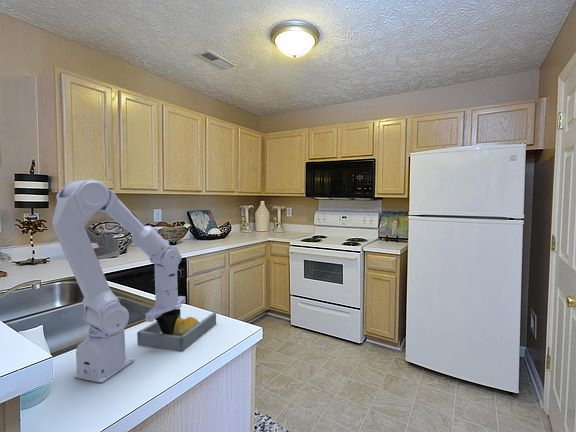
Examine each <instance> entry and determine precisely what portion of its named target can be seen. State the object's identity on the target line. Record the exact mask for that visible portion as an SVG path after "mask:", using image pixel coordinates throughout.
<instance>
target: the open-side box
mask: <svg viewBox="0 0 576 432" xmlns="http://www.w3.org/2000/svg"><path fill="white" fill-rule="evenodd" d="M178 318H181V312H180V314H179V316H178ZM215 325H217V313H216V312H211V314H209V315H208V316H207V317H205V318H203V320H201V321H199V323H198V324H197V325H196V326H194V327H193V328H192V329H190V330H189V331H188V332H186V333H185V334H183V335H182V336H175V335H168V334H162V332H161V329H160V326H159V324H158V323H157V321H156V320H155V321H153V322H151V323H150V324H149V325H147V326H146V327H144V328H142V329H140V330H139V331H137V333H136V336H137V338H136V339H137V346H144V347H151V348H157V349H163V350H164V349H165V350H170V351H177V352H184V351H185V350H186V349H188V348H189V347H190V346H191V345H192V344H193V343H195V342H196V341H197V340H198V339H200V338H201V336H203V335H205V333H206V332H208V331H209V330H210V329H212V328H213V327H214V326H215Z"/></svg>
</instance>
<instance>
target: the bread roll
mask: <svg viewBox="0 0 576 432" xmlns="http://www.w3.org/2000/svg"><path fill="white" fill-rule="evenodd" d="M198 323H200V321H199V320H198V319H197V318H195V317H192V316H188V317H185V318H177V321H176V324H175V327H174V332H173V335H175V336H182V335H183V334H185V333H186V332H188V331H189V330H190V329H192V328H193V327H194V326H196V325H197V324H198Z"/></svg>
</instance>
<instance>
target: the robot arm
mask: <svg viewBox="0 0 576 432" xmlns="http://www.w3.org/2000/svg"><path fill="white" fill-rule="evenodd" d="M55 198H56V205H55V209H54V214H53V218H52V229H53V231H54V233H55V235H56V237H57V240H58V242H59V244H60V246H61V248H62V251H63V253H64V255H65V258H66V261H67V263H68V265H69V266H70V269H71V271H72V274H73V275H74V278H75V280H76V282H77V284H78V287H79V288H80V292H81V294H82V296H83V299H82V306H83V308H84V310H83V311H84V312H83V319H84V321H85V322H86V323H87V324H89V328H88V335H87V337H86V338H85V339H84V340H83V341H81V342H80V343H79V344H78V345H77V347H76V348H75V349H76V350H75V356H76V358H75V362H76V363H75V364H76V373H75V374H74V376H73V377H74V378H76V379H80V380H81V379H82V380H86V381H91V382H96V383H104V382H106V381H107V380H109V379H110V378H111V377H113V376H114V375H116V374H117V373H119V372H120V371H121V370H123V369H124V368H126V367H127V366H128V365H131V364H132V363H133V362H134V361H135V358H133V357H126V339H125V336H126V334H125V331H126V330H125V328H126V326H127V325H128V323H129V321H130V320H129V319H130V313H129V310H128V309H127V308H126V307H125V306H124V305H122V304H121V303H120V300H119V298H118V296H117V295H115V294H114V292H113V291H112V290H111V288H110V286H109V284H108V281H107V278H106V276H105V274H104V271H103V269H102V266H101V264H100V262H99V258H98V259H97V256H96V254H95V252H94V249H93V247H92V244H91V243H92V242H91V240H90V237H89V234H88V233H87V229H86V228H85V227H86V225H87V224H88V223H89V221H90V219H91V217H93V215H95V214H96V213H97V212H99V213H104V214H107V215H108V216H110V217H111V218H112V219H113V220H114V221H116V222H117V223H118V224H119V225H120V226H122V227H123V228H124V229H125V230H126V231H127V232H129V234H131V235H132V238H131V241H132V243H133V244H134V245H136V246H137V247H138V248H139V249H140V250H141V251H143V252H144V254H145V255H147V256H148V258H149V261H150V263H152V264H154V287H155V290H154V291H155V292H154V294H155V296H154V297H155V305H154V306H153V307H152V308H151V309H150V310H149V311H148V312H146V313H144V317H145V322H149V323H154V322H156V321H157V323H158V324H159V326H160V329H161V332H160V333H161V334H168V335H173V332H174V327H175V324H176V321H177V318H178V316H179V314H180V313H181V308H182V305H184V304H186V298H187V297H186V296H184V295H183V296H182V295H179V293H178V291H179V290H178V285H179V284H178V271H179V264H180V263H181V261H182V256H183V255H181V254H180V251H179V249H178V248H177V247H175V246H172V245H171V246H170V241H169V240H168V239H165V238H164V237H162V236H161V235H160V234H159V233H158V232H159V230H158V228H157V227H153V226H151V225H143V224H142V223H141V222H140V220H139V219H138V218H137V217H136V216H135V215H134V214H133V213H132V211H131V210H129V208H128V207H127V206H126V205H125V204H124V203H123V202H122V201H121V200H120V199H119V197H118V196H117V194H116V193H115V192H114V191H113V190H111V189H109V188H108V186H107V185H106V184H105V183H103V182H102V181H100V180H98V179H86V180H72V181H69V182H67V183H66V184H65V185H64V186H63V187H62V188H61V189H60V191H58V193H57V194H56V197H55Z"/></svg>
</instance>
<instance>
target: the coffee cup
mask: <svg viewBox="0 0 576 432" xmlns="http://www.w3.org/2000/svg"><path fill="white" fill-rule="evenodd" d="M91 244H92V247H93V249H94V252H95V254H96V256H97V259H98V260H99V258H98V256H99V248H100V245H99V244H98V243H95V242H91Z"/></svg>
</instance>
